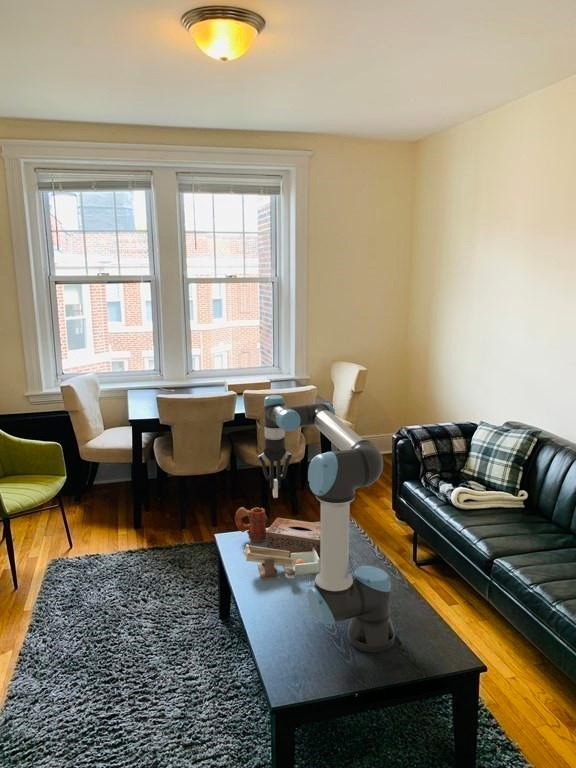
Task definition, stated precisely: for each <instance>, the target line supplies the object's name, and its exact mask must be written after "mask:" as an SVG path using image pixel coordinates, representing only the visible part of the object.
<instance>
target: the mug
mask: <svg viewBox="0 0 576 768" xmlns="http://www.w3.org/2000/svg"><path fill="white" fill-rule="evenodd" d="M246 516H247V519H248V520H249V523H247V524H246V523H244V522H243V518H245V517H246ZM268 519H269V517H268V516H267V515H266V509H265V508H263V507H261V508H260V507H253V508H251V509H250V510H249V509H246V508H245V507H244V506H241V507H239V508H238V509H237V510H236V512H235V515H234V522H235V525H236V527H237V529H238V530H239V531H240V532H241V533H245V532H246V533H247V534H248V540H249V541H250V542H253V543H256V544H257V543H258V544H259V543H263V542H265V541H266V531H267V530H268V529H267V525H266V523H267V522H266V521H267V520H268Z"/></svg>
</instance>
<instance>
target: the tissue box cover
mask: <svg viewBox="0 0 576 768" xmlns="http://www.w3.org/2000/svg"><path fill="white" fill-rule="evenodd" d="M320 528H321V523H319V522H318V523H317V522H311V521H304V520H297V519H290V518H282V517H277V518H275V520H273V523H272V524H271V525H270V526H269V527H268V528H267V529H266V530H267V531H266V539H265V548H271V549H278V550H285V551H290V554H289V558H291V553H299V552H309V551H312V548H315V550H316V552H317V555H318V557H319V559H320Z"/></svg>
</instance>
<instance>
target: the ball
mask: <svg viewBox="0 0 576 768" xmlns="http://www.w3.org/2000/svg"><path fill="white" fill-rule="evenodd" d="M303 563H304V561H303V560H302V559H298V560H296V562H295V564H303Z"/></svg>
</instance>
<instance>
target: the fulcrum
mask: <svg viewBox="0 0 576 768" xmlns="http://www.w3.org/2000/svg"><path fill="white" fill-rule="evenodd" d="M276 566H277V565H274V560H268V561H265V563H258V564H257V571H258V572H259V578H260V581H265V580H275V579H280V576H279V573H278V570H277V567H276Z"/></svg>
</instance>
